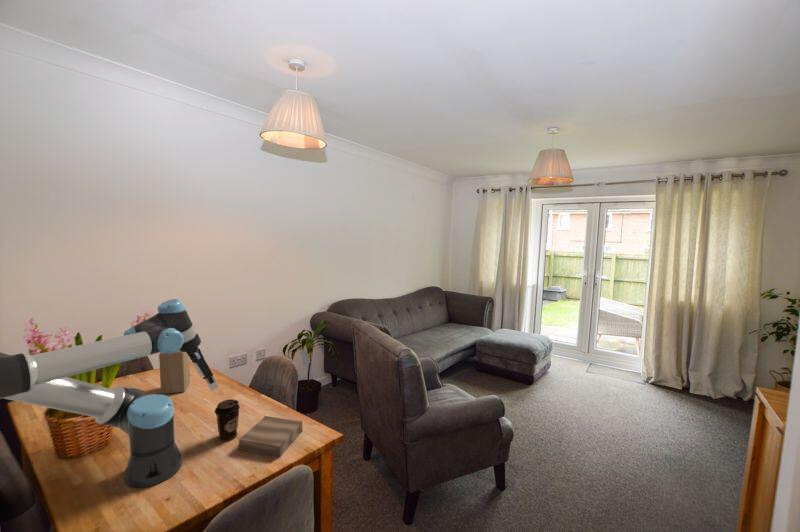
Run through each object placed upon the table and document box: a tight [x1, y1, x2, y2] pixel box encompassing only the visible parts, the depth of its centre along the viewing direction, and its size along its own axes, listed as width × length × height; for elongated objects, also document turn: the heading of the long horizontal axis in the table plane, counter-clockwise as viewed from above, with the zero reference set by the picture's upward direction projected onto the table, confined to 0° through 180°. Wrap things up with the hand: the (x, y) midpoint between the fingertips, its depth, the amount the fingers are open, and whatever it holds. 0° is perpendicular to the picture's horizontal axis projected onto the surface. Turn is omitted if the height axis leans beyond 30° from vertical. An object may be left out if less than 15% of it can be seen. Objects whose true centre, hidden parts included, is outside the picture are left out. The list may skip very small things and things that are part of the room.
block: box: [158, 350, 191, 395], centre depth 168 cm, size 10×10×20 cm
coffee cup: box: [214, 399, 240, 442], centre depth 132 cm, size 9×8×13 cm
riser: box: [238, 415, 304, 458], centre depth 131 cm, size 16×16×4 cm
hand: (209, 381), depth 140 cm, fingers open, 13 cm apart
